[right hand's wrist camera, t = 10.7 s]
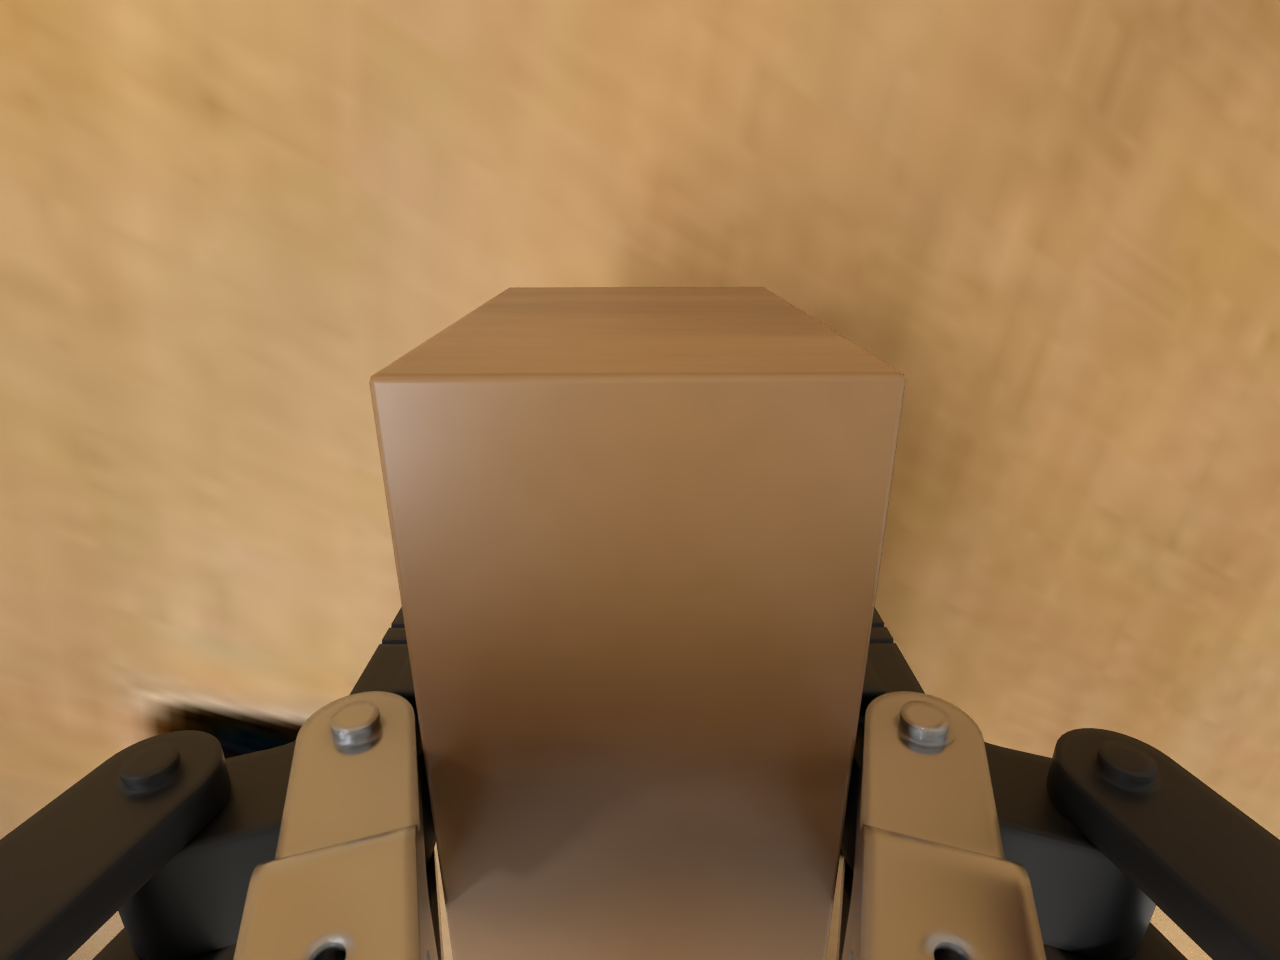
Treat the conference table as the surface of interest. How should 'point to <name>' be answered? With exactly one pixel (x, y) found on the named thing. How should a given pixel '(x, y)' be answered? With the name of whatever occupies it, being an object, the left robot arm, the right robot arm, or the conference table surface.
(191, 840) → the right robot arm
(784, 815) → the bar
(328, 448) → the conference table surface
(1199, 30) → the conference table surface
